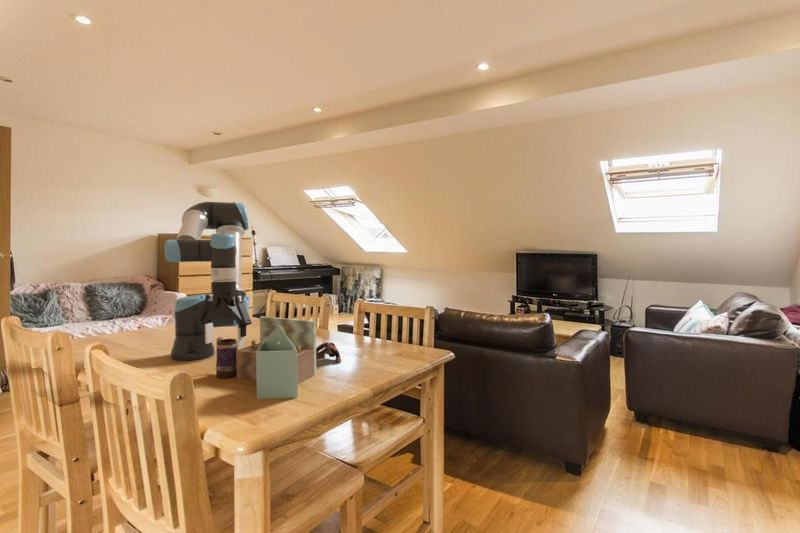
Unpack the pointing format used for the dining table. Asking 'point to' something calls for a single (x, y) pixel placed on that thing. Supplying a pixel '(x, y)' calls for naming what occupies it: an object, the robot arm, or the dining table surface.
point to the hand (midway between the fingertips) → (225, 344)
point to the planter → (276, 367)
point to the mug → (226, 358)
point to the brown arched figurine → (327, 351)
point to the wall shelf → (296, 331)
